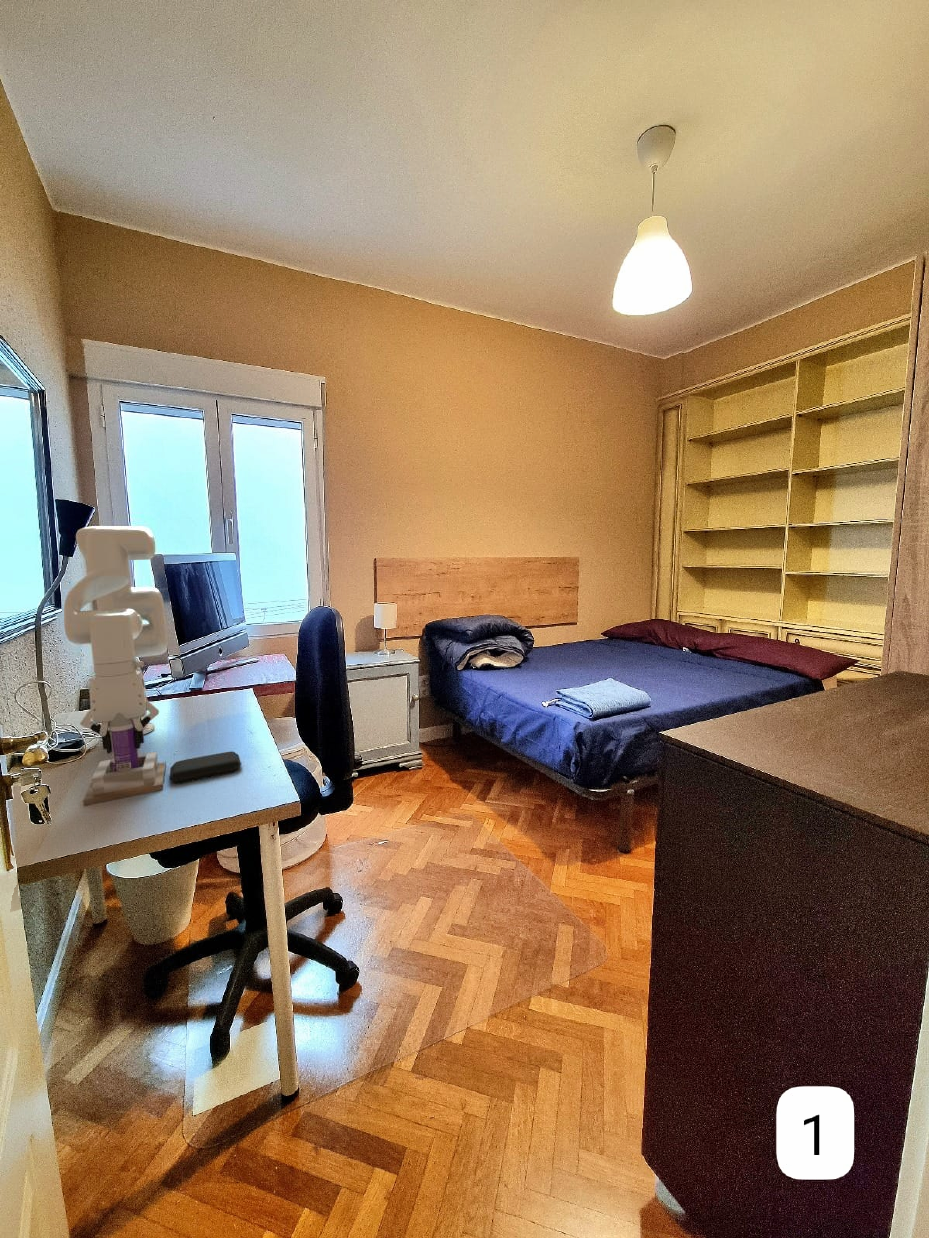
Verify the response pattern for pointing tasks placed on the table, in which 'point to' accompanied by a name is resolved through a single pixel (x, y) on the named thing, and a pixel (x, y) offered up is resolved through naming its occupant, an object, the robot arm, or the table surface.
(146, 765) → the mount
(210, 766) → the carrying case or bag
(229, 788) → the table surface
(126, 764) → the container
